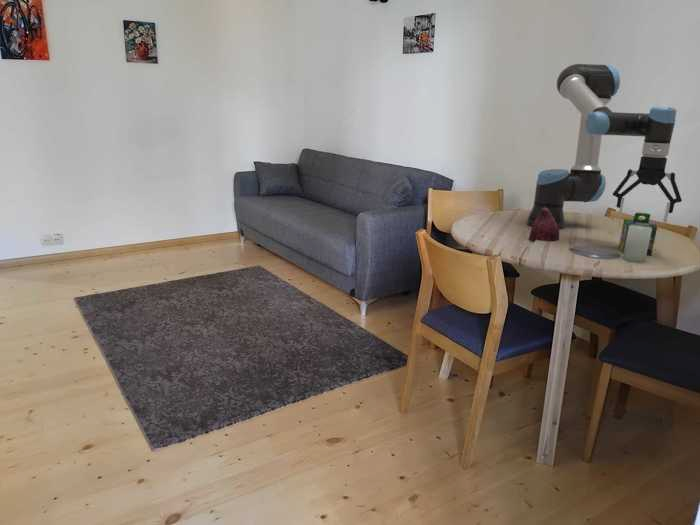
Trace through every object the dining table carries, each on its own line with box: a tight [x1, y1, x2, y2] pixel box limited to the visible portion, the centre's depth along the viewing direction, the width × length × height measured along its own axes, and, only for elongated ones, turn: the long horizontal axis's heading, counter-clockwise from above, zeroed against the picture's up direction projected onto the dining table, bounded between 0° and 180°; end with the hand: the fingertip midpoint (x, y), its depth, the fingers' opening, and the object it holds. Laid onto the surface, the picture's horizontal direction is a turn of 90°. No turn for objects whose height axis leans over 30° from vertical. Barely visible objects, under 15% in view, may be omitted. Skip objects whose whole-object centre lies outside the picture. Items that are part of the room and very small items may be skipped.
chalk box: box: [618, 212, 658, 257], centre depth 177 cm, size 9×9×15 cm
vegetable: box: [528, 206, 560, 243], centre depth 190 cm, size 10×10×15 cm
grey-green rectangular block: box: [622, 225, 652, 263], centre depth 168 cm, size 7×7×12 cm
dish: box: [568, 245, 621, 260], centre depth 176 cm, size 16×16×1 cm
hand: (641, 219), depth 176 cm, fingers open, 13 cm apart
